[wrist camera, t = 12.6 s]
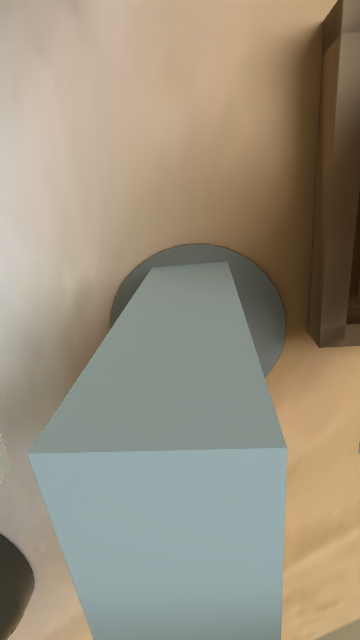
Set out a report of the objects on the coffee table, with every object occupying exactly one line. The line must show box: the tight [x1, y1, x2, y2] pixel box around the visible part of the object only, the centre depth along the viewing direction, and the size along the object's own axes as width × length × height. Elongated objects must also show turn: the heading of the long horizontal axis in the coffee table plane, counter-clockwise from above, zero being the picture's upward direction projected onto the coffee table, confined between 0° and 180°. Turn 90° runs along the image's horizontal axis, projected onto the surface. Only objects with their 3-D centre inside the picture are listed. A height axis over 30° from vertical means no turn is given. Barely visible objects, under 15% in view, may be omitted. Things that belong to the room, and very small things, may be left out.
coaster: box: [111, 244, 286, 377], centre depth 18 cm, size 10×10×1 cm
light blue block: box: [27, 262, 287, 640], centre depth 12 cm, size 4×8×13 cm, turn 6°
